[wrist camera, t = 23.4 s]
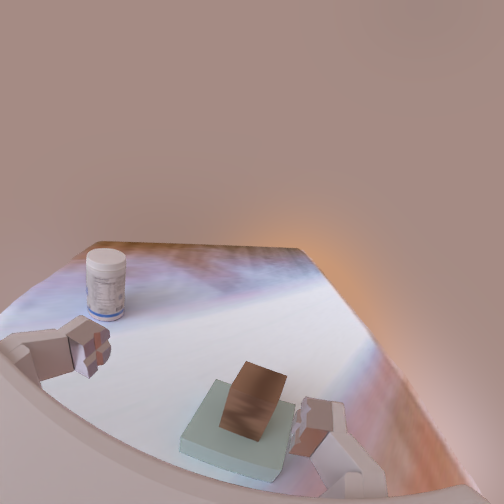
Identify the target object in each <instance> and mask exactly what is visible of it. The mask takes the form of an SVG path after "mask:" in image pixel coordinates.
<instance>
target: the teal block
mask: <svg viewBox="0 0 504 504" xmlns="http://www.w3.org/2000/svg"><path fill="white" fill-rule="evenodd" d="M230 387H231V384H228V383H226V382H223V381H220V380H218V379H216V380H215V382H214V383H213V385H212V387H211V388H210V390H209V392H208V393H207V395H206V397H205V398H204V400H203V402H202V403H201V405H200V407H199V408H198V410H197V412H196V413H195V415H194V416H193V418H192V420H191V421H190V423H189V424H188V426H187V428H186V429H185V431H184V432H183V434H182V436H181V439H180V449H179V452H181V453H184V454H186V455H188V456H191V457H193V458H196V459H198V460H200V461H203V462H206V463H208V464H211V465H214V466H216V467H219V468H222V469H225V470H228V471H231V472H234V473H237V474H240V475H243V476H247V477H250V478H254V479H258V480H261V481H265V482H269V483H272V482H273V481H274V480H275V478H276V477H277V476H278V475H279V473H280V472H281V470H282V466H283V462H284V458H285V453H286V449H287V445H288V440H289V435H290V431H291V426H292V421H293V416H294V411H295V404H291V403H288V402H284V401H281V400H279V401H278V404H277V406H276V408H275V410H274V412H273V414H272V416H271V419H270V421H269V423H268V425H267V427H266V428H265V430H264V432H263V434H262V436H261V438H260V440H259V442H257V441H254V440H251V439H248V438H246V437H243V436H240V435H238V434H235V433H233V432H230V431H228V430H225V429H223V428H220V427H219V424H220V421H221V417H222V414H223V410H224V407H225V403H226V400H227V397H228V393H229V390H230Z"/></svg>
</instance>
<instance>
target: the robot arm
mask: <svg viewBox="0 0 504 504" xmlns="http://www.w3.org/2000/svg"><path fill="white" fill-rule="evenodd" d="M109 338H110V331H109V330H108V329H107V328H105V327H103V326H101V325H99V324H98V323H96V322H94V321H92V320H90V319H88V318H86V317H85V316H83V315H79V316H77V317H76V318H74V319H73V320H71V321H70V322H68V323H67V324H65V325H64V326H63V327H61V328H60V329H58V330H56V329H48V330H40V331H30V332H20V333H12V334H10V335H9V336H7V337H6V338H4V339H2V340H1V341H0V504H490V502H489V501H488V500H487V499H486V498H484V497H483V496H482V495H480V494H479V493H478V492H477V491H475V490H474V489H472V488H471V487H469V486H467V485H465V484H461V485H456V486H452V487H448V488H444V489H439V490H435V491H429V492H424V493H418V494H411V495H404V496H395V497H388V491H387V484H386V477H385V472H384V471H383V469H382V468H381V467H380V466H379V465H378V464H377V463H376V462H375V461H374V460H373V458H372V457H371V456H370V455H369V454H368V453H367V452H366V451H365V450H364V448H363V447H362V446H361V445H360V444H359V443H358V442H357V440H356V439H355V438H354V437H353V436H352V435H351V434H347V426H346V417H345V409H344V404H343V403H341V402H334V401H327V400H321V399H316V398H310V397H305V398H304V399H303V401H302V403H301V409H299V410H297V412H296V414H295V416H294V419H293V422H292V427H291V433H292V434H293V436H292V438H291V440H290V445H289V454H295V455H300V456H306V457H310V460H311V462H312V463H313V465H314V467H315V469H316V471H317V472H318V474H319V476H320V478H321V479H322V481H323V483H324V485H325V486H326V488H327V491H326V492H324V493H323V494H322V495H321V496H319V497H318V498H315V497H304V496H294V495H287V494H280V493H273V492H267V491H262V490H257V489H252V488H247V487H243V486H239V485H235V484H231V483H227V482H223V481H219V480H216V479H213V478H209V477H206V476H203V475H200V474H197V473H194V472H191V471H188V470H185V469H183V468H180V467H177V466H175V465H172V464H170V463H167V462H165V461H162V460H160V459H157V458H155V457H153V456H151V455H148V454H146V453H144V452H142V451H140V450H138V449H136V448H134V447H132V446H130V445H128V444H126V443H124V442H122V441H120V440H118V439H116V438H114V437H113V436H111V435H109V434H107V433H106V432H104V431H102V430H100V429H99V428H97V427H95V426H94V425H92V424H91V423H89V422H87V421H86V420H84V419H83V418H81V417H80V416H78V415H77V414H75V413H74V412H72V411H71V410H69V409H68V408H66V407H65V406H64V405H62V404H61V403H59V402H58V401H57V400H55V399H54V398H53V397H51V396H50V395H49V394H48V393H46V392H45V391H44V390H43V389H42V386H41V383H40V381H43V380H46V379H50V378H53V377H56V376H59V375H63V374H66V373H69V372H72V371H74V370H75V371H77V372H78V373H80V374H82V375H83V376H85V377H87V378H90V377H91V376H92V375H93V374H94V373H95V372H96V371H97V370H98V366H99V365H104V364H105V363H106V361H107V360H108V358H109V356H110V353H111V345H110V343H109V342H108V339H109Z"/></svg>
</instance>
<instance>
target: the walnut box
mask: <svg viewBox="0 0 504 504" xmlns="http://www.w3.org/2000/svg"><path fill="white" fill-rule="evenodd" d="M286 378H287V376H286V375H283V374H280V373H277V372H275V371H272V370H269V369H266V368H263V367H261V366H258V365H255V364H253V363H250V362H247V361H246V362H245V364H244V365H243V367H242V369H241V370H240V372H239V374H238V375H237V377H236V379H235V380H234V382H233V383H232V385H231V387H230V390H229V393H228V397H227V400H226V403H225V407H224V410H223V414H222V417H221V421H220V424H219V427H220V428H223V429H225V430H228V431H230V432H233V433H235V434H238V435H240V436H243V437H246V438H248V439H251V440H254V441H257V442H259V440H260V438H261V436H262V434H263V432H264V430H265V428H266V427H267V425H268V423H269V421H270V419H271V416H272V414H273V412H274V410H275V408H276V406H277V404H278V401H279V398H280V396H281V393H282V390H283V387H284V384H285V381H286Z"/></svg>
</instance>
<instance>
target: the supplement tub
mask: <svg viewBox="0 0 504 504" xmlns="http://www.w3.org/2000/svg"><path fill="white" fill-rule="evenodd" d="M125 276H126V256H125V254H123V253H122V252H120V251H118V250H115V249H109V248H99V249H94V250H91V251H90V252H88V254H87V260H86V289H87V309H88V312H89V314H90V315H91V316H92V317H93V318H95V319H97V320H100V321H114V320H117V319H119V318H120V317H121V316H122V315H123V313H124V299H125Z"/></svg>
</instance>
